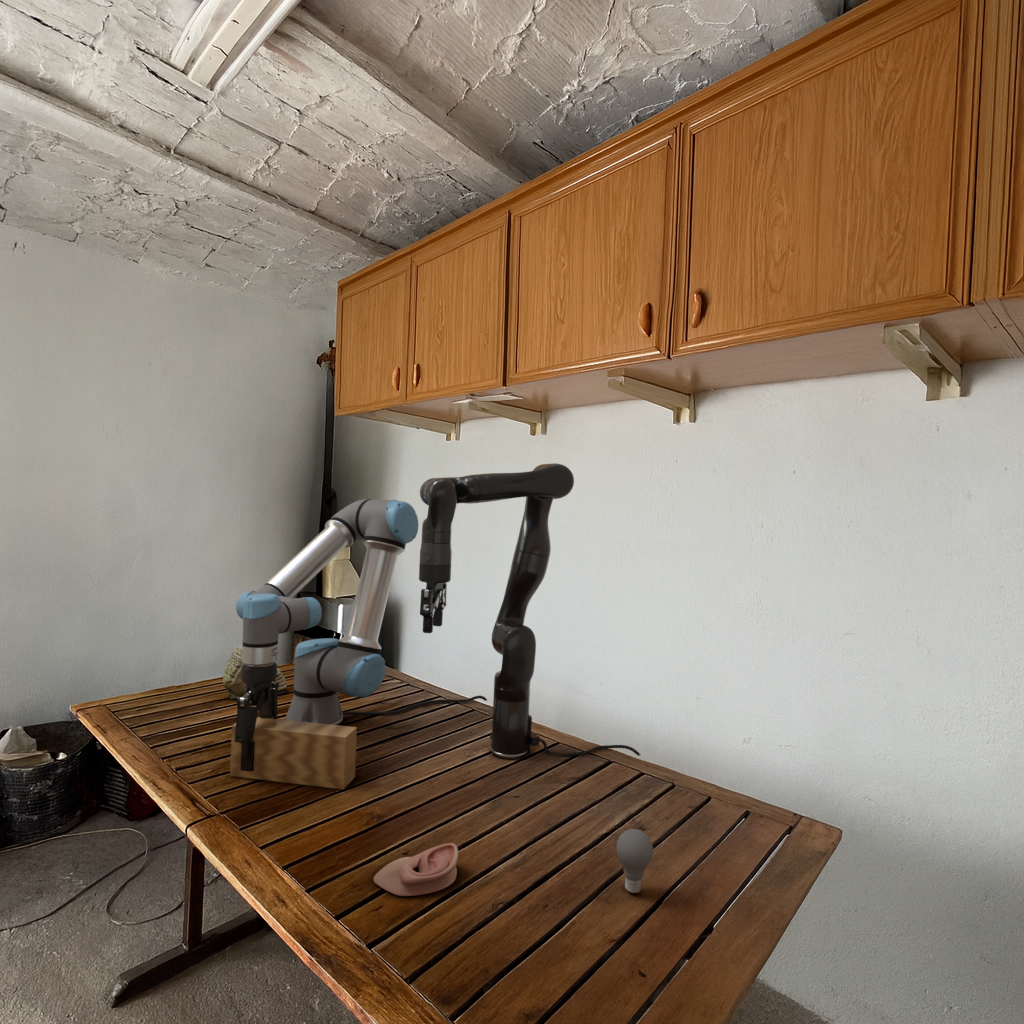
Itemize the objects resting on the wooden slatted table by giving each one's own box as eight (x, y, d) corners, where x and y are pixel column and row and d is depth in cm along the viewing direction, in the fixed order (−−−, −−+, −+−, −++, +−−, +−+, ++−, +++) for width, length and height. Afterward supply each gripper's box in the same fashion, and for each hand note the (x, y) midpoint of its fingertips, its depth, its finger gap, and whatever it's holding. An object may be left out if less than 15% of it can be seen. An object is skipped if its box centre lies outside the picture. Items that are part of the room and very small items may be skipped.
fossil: (218, 695, 195) (220, 647, 195) (278, 685, 208) (279, 640, 207) (228, 703, 189) (230, 653, 188) (289, 692, 201) (290, 645, 201)
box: (229, 776, 141) (231, 725, 141) (245, 764, 148) (247, 715, 148) (343, 789, 137) (345, 737, 137) (355, 777, 144) (357, 727, 143)
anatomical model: (366, 866, 102) (393, 830, 114) (365, 890, 103) (392, 852, 114) (444, 879, 100) (464, 841, 111) (443, 904, 100) (463, 864, 111)
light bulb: (610, 879, 108) (613, 822, 108) (644, 879, 109) (647, 822, 109) (619, 902, 102) (622, 840, 102) (655, 901, 103) (658, 840, 103)
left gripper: (251, 675, 133) (247, 784, 134) (295, 654, 152) (292, 749, 153) (218, 672, 135) (214, 780, 135) (266, 652, 154) (263, 746, 154)
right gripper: (443, 565, 143) (440, 636, 143) (457, 559, 157) (455, 624, 158) (411, 563, 144) (408, 634, 145) (428, 558, 158) (426, 622, 159)
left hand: (255, 763), depth 144 cm, fingers closed on box, 6 cm apart
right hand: (432, 629), depth 151 cm, fingers open, 8 cm apart
